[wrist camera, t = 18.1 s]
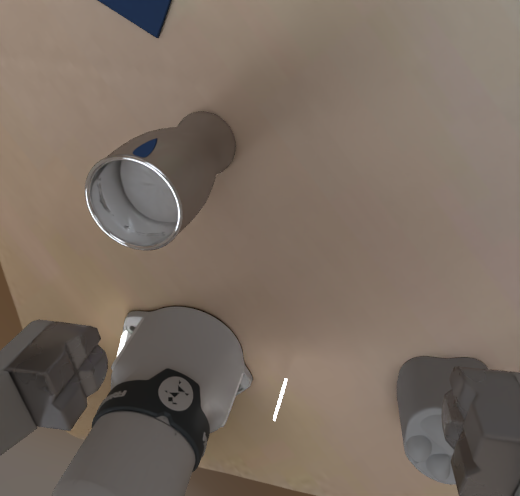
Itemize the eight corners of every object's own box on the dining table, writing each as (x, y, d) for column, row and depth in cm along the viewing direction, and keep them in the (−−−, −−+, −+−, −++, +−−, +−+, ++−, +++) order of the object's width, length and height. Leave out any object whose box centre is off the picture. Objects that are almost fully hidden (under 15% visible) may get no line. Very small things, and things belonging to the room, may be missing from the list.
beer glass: (247, 116, 35) (191, 169, 22) (234, 186, 38) (179, 265, 26) (174, 97, 35) (78, 137, 22) (168, 167, 39) (82, 237, 26)
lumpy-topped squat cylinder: (495, 358, 43) (527, 427, 36) (481, 432, 49) (505, 504, 42) (397, 355, 45) (408, 419, 38) (395, 426, 51) (404, 493, 44)
